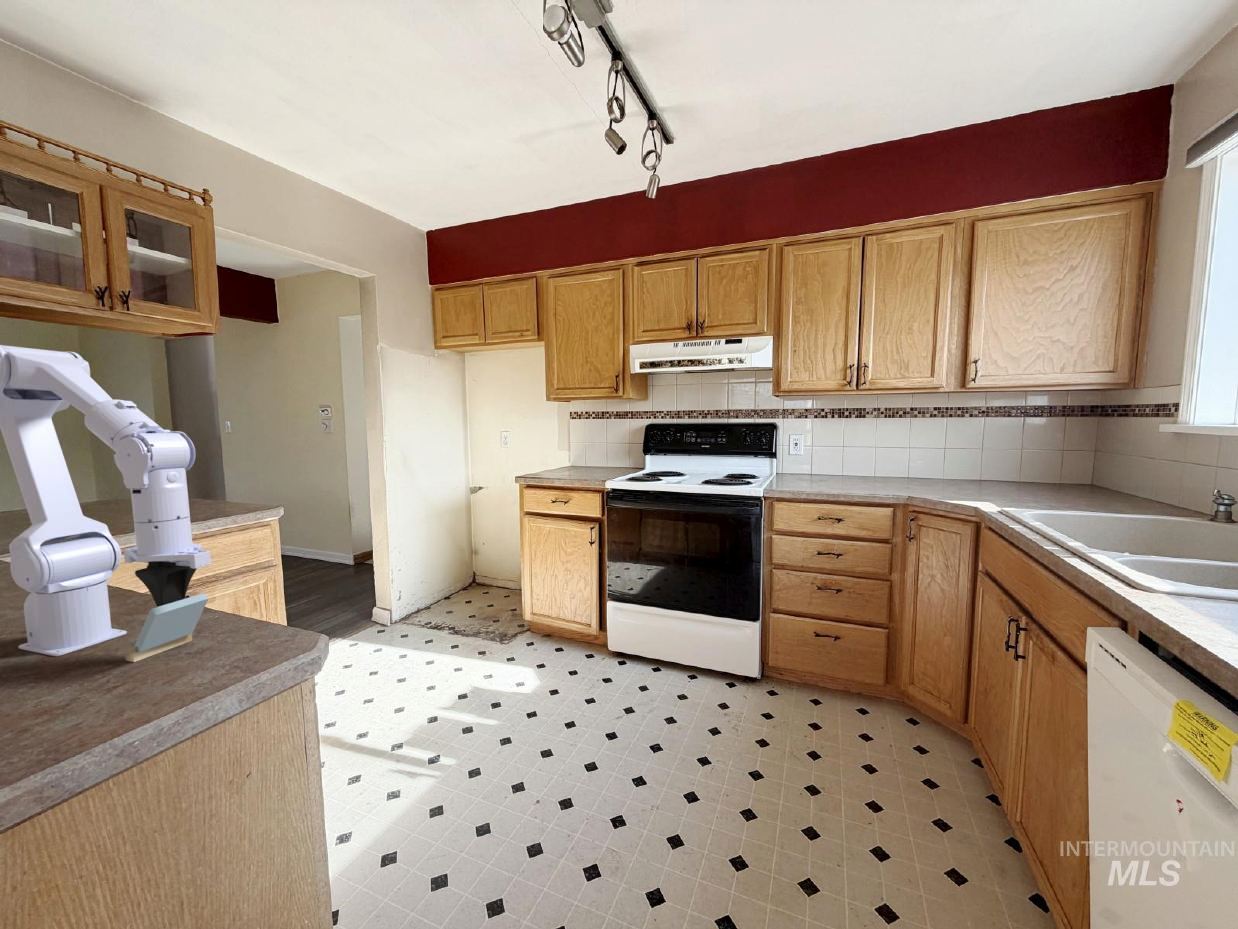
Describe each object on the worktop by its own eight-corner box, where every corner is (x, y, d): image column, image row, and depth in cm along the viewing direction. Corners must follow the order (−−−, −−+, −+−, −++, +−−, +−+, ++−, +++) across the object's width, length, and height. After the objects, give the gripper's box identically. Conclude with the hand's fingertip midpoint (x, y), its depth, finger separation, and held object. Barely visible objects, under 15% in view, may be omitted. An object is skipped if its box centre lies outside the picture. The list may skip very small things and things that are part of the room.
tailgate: (133, 648, 67) (150, 609, 65) (186, 629, 73) (203, 593, 71) (138, 654, 67) (155, 615, 65) (191, 635, 73) (208, 598, 71)
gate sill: (125, 660, 67) (125, 652, 67) (184, 639, 74) (183, 631, 74) (134, 662, 66) (133, 653, 66) (192, 640, 73) (191, 632, 73)
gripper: (230, 515, 69) (238, 608, 70) (161, 512, 74) (170, 600, 75) (172, 525, 63) (182, 627, 64) (100, 521, 67) (111, 617, 68)
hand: (172, 614), depth 69 cm, fingers closed, pressing on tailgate
